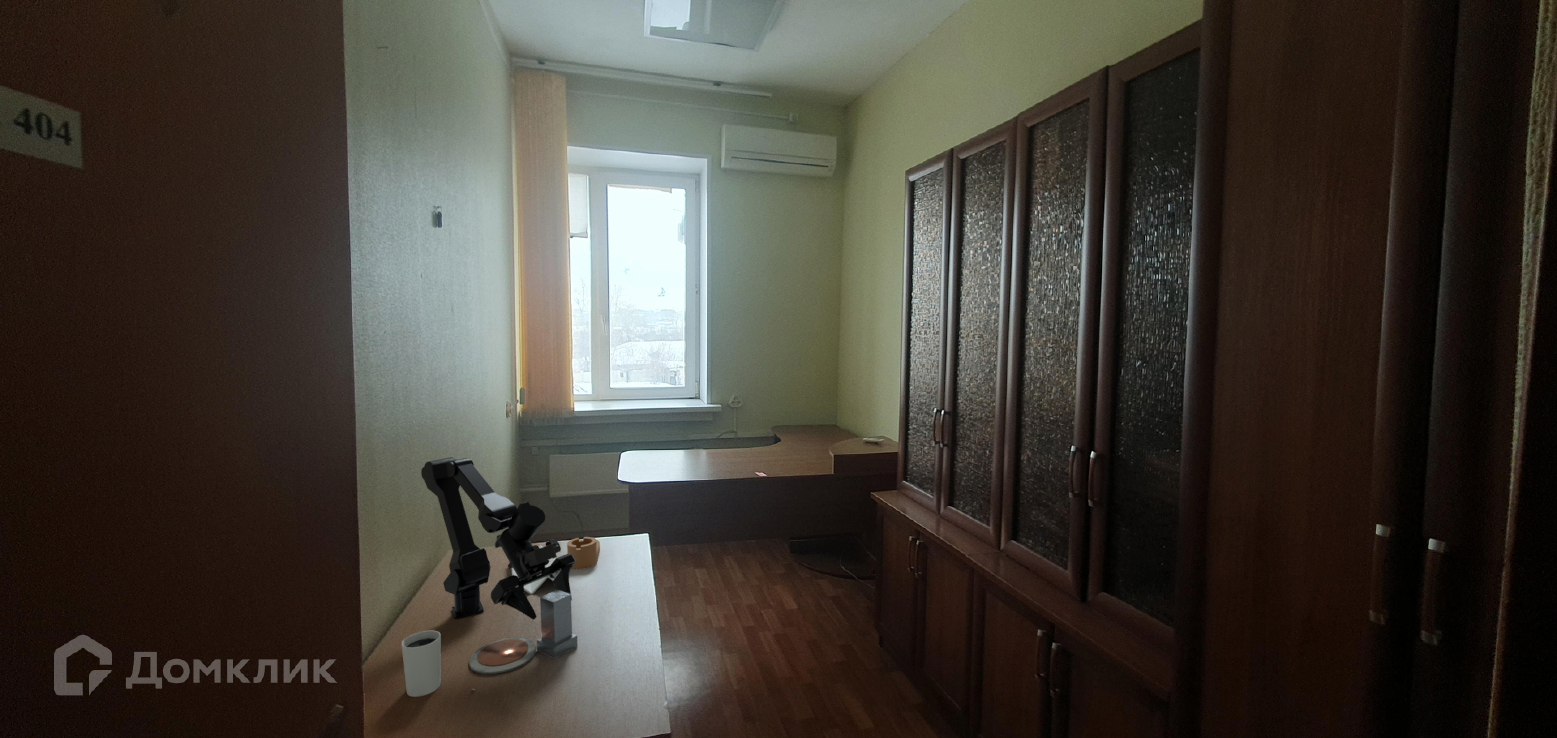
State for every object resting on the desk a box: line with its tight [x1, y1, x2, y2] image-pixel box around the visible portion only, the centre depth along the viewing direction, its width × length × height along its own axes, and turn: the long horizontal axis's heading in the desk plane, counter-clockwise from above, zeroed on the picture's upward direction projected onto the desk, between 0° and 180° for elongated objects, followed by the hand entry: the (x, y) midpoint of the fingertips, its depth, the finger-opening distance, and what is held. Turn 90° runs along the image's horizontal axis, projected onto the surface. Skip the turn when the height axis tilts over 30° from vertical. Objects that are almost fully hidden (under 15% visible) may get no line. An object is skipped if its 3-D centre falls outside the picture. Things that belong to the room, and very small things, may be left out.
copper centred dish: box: [468, 637, 537, 675], centre depth 130 cm, size 13×13×1 cm
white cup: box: [400, 629, 442, 698], centre depth 118 cm, size 7×7×10 cm
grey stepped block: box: [536, 589, 579, 660], centre depth 133 cm, size 6×6×12 cm
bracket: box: [566, 536, 601, 570], centre depth 185 cm, size 18×8×7 cm, turn 12°
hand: (553, 609), depth 133 cm, fingers open, 9 cm apart
